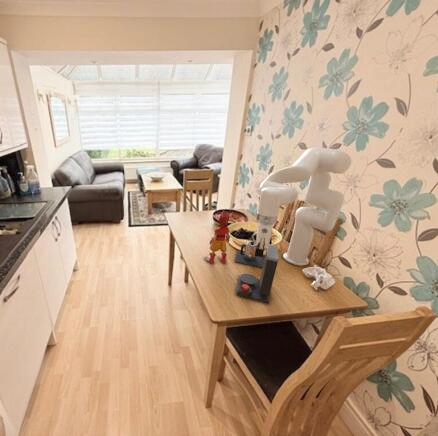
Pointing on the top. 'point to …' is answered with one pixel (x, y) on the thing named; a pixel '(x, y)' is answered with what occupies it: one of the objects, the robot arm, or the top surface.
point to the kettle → (249, 251)
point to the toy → (220, 238)
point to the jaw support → (319, 277)
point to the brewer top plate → (256, 263)
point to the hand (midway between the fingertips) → (258, 255)
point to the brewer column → (265, 271)
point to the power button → (245, 287)
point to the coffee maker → (252, 292)
